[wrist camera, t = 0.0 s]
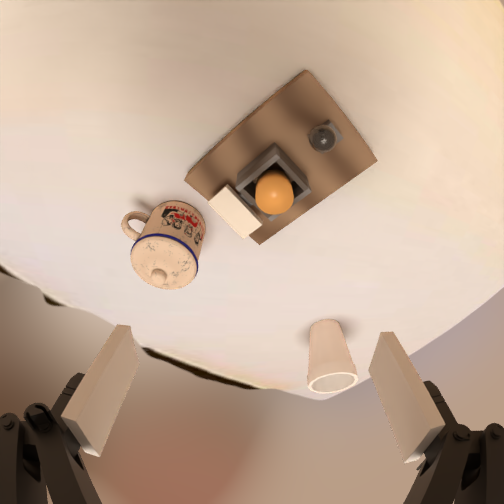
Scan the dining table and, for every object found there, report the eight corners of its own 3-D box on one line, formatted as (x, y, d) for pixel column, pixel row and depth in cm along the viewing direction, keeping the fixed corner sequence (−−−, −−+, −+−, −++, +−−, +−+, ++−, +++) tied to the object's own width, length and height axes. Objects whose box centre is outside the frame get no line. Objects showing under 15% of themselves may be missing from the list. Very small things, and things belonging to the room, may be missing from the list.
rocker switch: (227, 184, 35) (225, 186, 34) (263, 221, 37) (262, 225, 36) (209, 199, 36) (207, 203, 35) (244, 235, 38) (243, 239, 37)
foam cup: (349, 334, 61) (359, 386, 51) (309, 344, 63) (314, 396, 53) (342, 309, 55) (354, 367, 45) (297, 321, 57) (302, 379, 47)
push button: (275, 162, 31) (276, 174, 29) (298, 186, 33) (301, 200, 31) (248, 184, 33) (247, 197, 30) (271, 206, 35) (272, 220, 32)
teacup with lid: (219, 221, 43) (208, 278, 34) (187, 257, 47) (172, 313, 38) (150, 175, 38) (118, 223, 29) (124, 218, 43) (94, 270, 34)
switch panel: (305, 69, 29) (315, 74, 24) (371, 153, 35) (389, 174, 30) (188, 172, 38) (176, 195, 33) (259, 234, 44) (259, 263, 39)
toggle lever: (329, 126, 29) (323, 118, 21) (343, 143, 29) (342, 141, 22) (312, 138, 30) (300, 135, 22) (326, 155, 30) (319, 158, 23)
